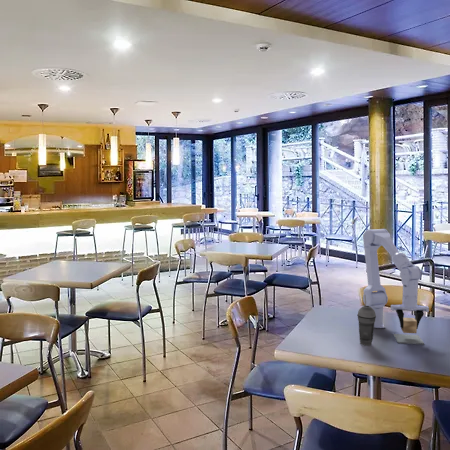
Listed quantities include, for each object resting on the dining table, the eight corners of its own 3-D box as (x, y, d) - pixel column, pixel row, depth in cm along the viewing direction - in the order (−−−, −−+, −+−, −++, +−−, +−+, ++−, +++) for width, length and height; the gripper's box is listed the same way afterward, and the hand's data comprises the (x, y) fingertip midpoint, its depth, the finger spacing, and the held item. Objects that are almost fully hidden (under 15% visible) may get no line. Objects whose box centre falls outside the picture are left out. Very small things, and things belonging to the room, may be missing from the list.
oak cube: (403, 332, 191) (404, 320, 191) (401, 329, 196) (401, 317, 196) (416, 333, 191) (416, 321, 190) (413, 329, 196) (414, 317, 195)
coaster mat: (398, 343, 190) (398, 341, 190) (393, 335, 199) (393, 333, 199) (424, 344, 188) (424, 343, 188) (418, 336, 198) (418, 335, 198)
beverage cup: (365, 348, 184) (367, 298, 182) (352, 342, 190) (353, 294, 189) (379, 345, 187) (380, 296, 186) (366, 339, 194) (367, 292, 192)
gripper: (393, 297, 189) (392, 329, 191) (431, 298, 187) (430, 331, 188) (390, 293, 196) (389, 324, 197) (426, 294, 194) (425, 326, 195)
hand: (408, 327), depth 193 cm, fingers closed on oak cube, 5 cm apart
